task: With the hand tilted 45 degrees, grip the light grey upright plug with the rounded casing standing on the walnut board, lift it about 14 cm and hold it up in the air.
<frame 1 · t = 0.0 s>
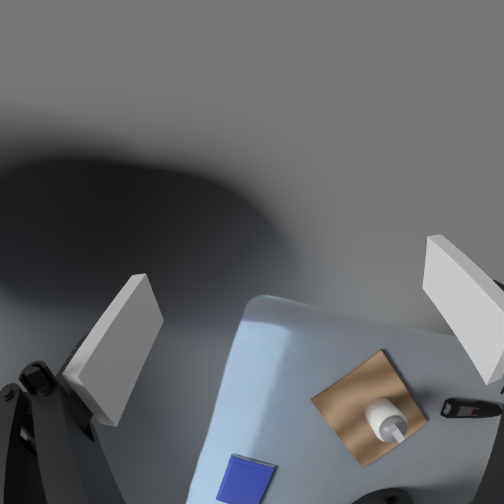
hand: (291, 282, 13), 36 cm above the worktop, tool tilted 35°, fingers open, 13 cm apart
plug: (378, 410, 41), point 1 cm above the worktop, touching board
electric trimmer: (469, 407, 39), on the worktop
board: (372, 412, 42), on the worktop
hard drive: (245, 481, 43), on the worktop
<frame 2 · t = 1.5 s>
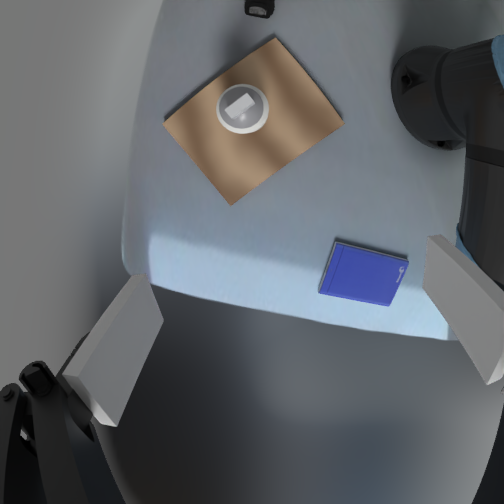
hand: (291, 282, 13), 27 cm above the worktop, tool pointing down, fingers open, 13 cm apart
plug: (247, 113, 33), point 1 cm above the worktop, touching board
board: (252, 119, 34), on the worktop
hard drive: (362, 272, 43), on the worktop
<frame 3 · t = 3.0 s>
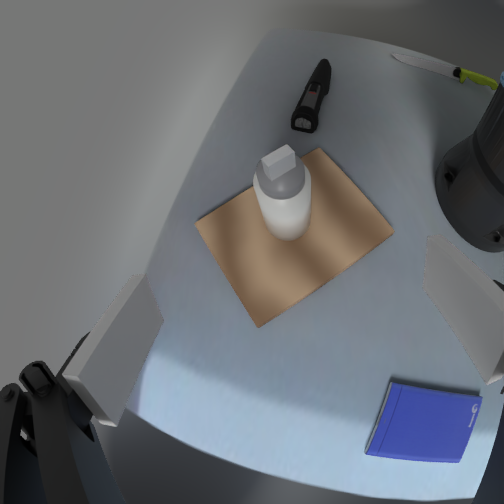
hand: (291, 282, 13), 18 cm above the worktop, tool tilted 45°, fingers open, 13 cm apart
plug: (287, 219, 32), point 1 cm above the worktop, touching board
kitchen knife: (444, 76, 38), on the worktop
electric trimmer: (313, 100, 40), on the worktop
board: (293, 229, 33), on the worktop
hard drive: (424, 424, 24), on the worktop
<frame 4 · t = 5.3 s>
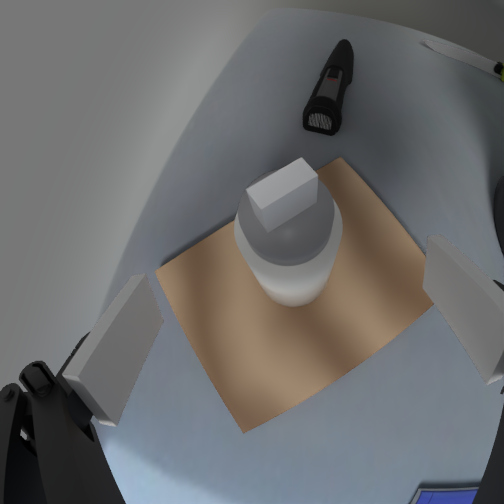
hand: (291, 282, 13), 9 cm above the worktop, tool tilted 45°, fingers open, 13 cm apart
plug: (293, 271, 21), point 1 cm above the worktop, touching board
kitchen knife: (484, 72, 27), on the worktop
electric trimmer: (331, 90, 28), on the worktop
board: (301, 286, 21), on the worktop
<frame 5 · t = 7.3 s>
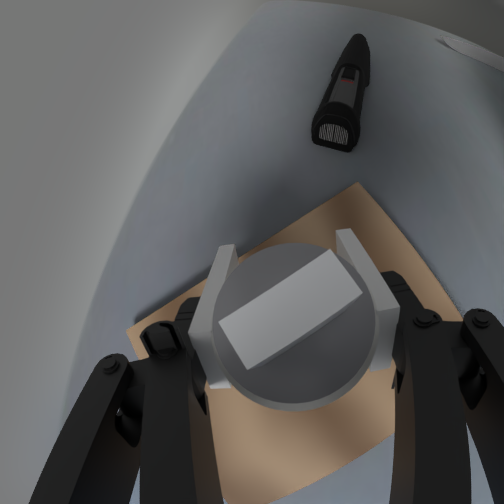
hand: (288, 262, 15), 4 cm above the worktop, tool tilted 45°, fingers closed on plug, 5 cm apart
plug: (297, 340, 16), point 1 cm above the worktop, touching board, gripper
electric trimmer: (345, 94, 23), on the worktop
board: (307, 354, 16), on the worktop
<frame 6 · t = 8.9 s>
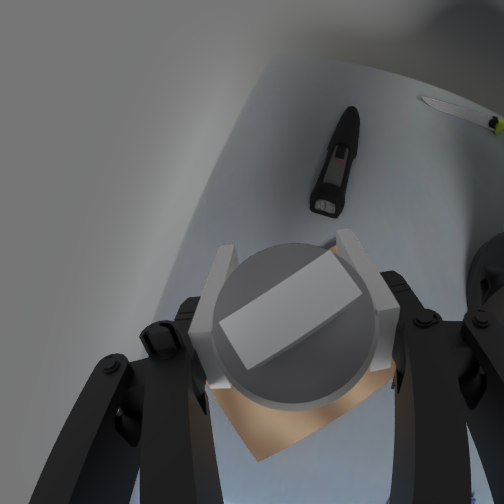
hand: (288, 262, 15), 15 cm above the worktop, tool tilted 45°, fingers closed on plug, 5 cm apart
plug: (297, 340, 16), point 12 cm above the worktop, touching gripper
kitchen knife: (478, 126, 33), on the worktop
electric trimmer: (337, 164, 34), on the worktop
board: (301, 355, 27), on the worktop
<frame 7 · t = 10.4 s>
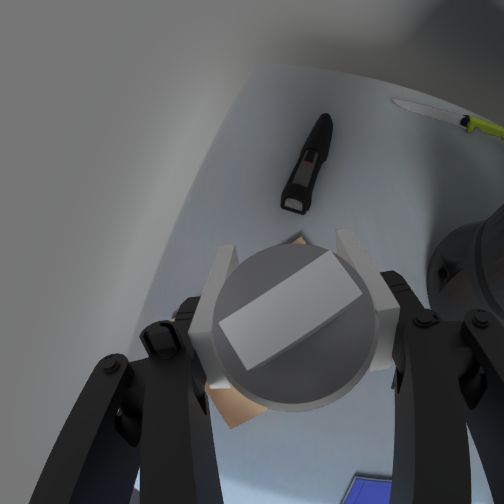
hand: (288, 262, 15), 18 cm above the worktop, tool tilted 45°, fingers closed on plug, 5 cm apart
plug: (297, 340, 16), point 16 cm above the worktop, touching gripper
kitchen knife: (450, 125, 37), on the worktop
electric trimmer: (309, 167, 38), on the worktop
board: (268, 334, 31), on the worktop
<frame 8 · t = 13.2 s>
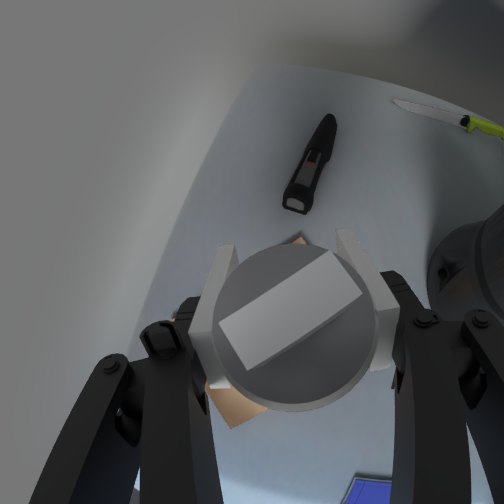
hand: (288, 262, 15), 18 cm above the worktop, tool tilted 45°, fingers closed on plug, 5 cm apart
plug: (297, 340, 16), point 16 cm above the worktop, touching gripper
kitchen knife: (450, 125, 37), on the worktop
electric trimmer: (312, 167, 38), on the worktop
board: (268, 334, 31), on the worktop
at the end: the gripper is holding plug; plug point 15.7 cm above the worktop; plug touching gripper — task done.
